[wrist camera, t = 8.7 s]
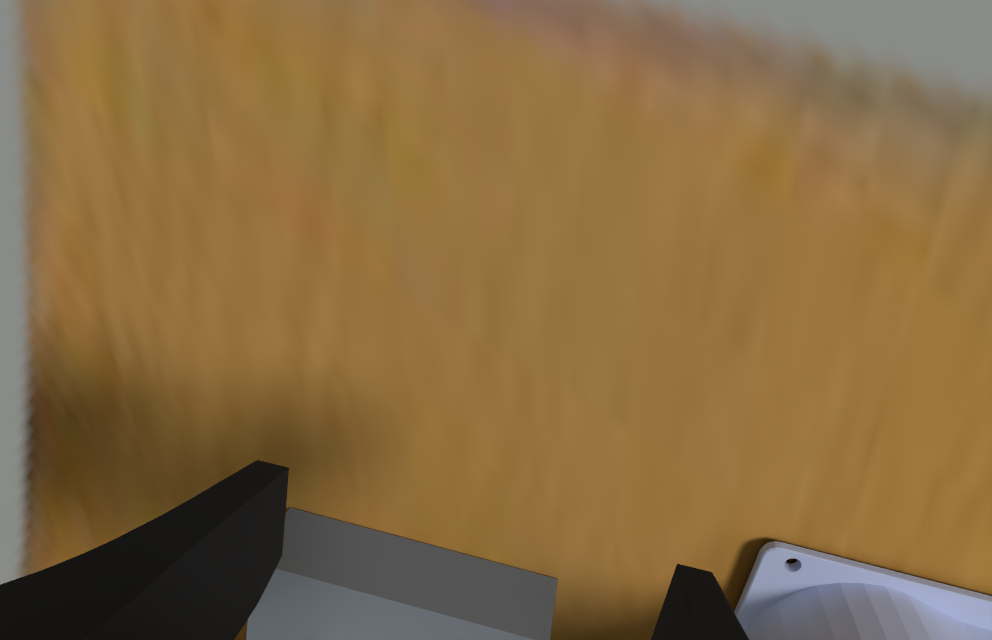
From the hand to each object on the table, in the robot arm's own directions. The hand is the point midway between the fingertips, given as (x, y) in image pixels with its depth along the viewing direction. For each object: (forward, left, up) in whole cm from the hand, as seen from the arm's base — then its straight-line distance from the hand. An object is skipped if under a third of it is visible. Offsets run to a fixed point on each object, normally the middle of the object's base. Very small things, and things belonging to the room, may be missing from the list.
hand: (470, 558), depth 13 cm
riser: (+2, +14, -11) cm, 18 cm away
